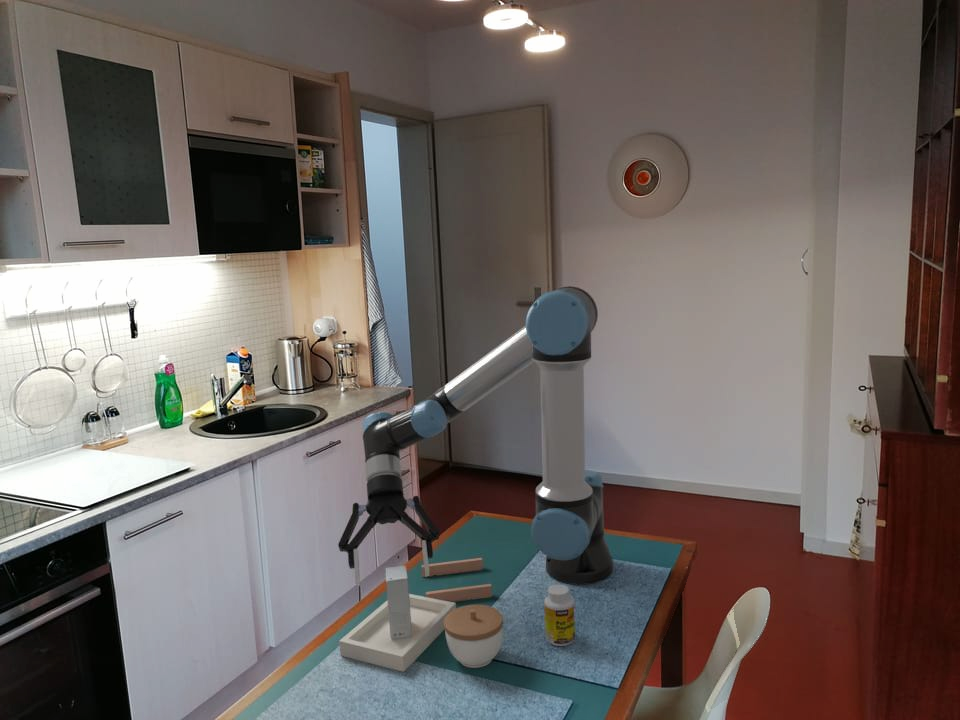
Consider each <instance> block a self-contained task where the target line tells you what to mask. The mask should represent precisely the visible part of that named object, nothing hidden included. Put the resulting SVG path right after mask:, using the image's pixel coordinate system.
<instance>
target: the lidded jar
mask: <svg viewBox="0 0 960 720" xmlns="http://www.w3.org/2000/svg"><path fill="white" fill-rule="evenodd" d="M444 628H445V629H444V634H445V640H446V644H447V646H448V650H449V651H450V653H451V655H452V656H453V657H454V658H455V659H456V660H457V662H459V663H460V664H461V665H462V666H463V667H466V668H469V669H479V668H483V667H486V666H488V665H489V664H490V663H491V662H492V661H493V659H495V657H496V656H497V655H498V653H499V652H500V649H501V647H502V643H503V637H504V617H503V615H502V613H501V612H500V611H499V610H498V609H497V608H495V607H492V606H490V605H486V604H468V605H463V606H460V607H456V609H454V610H453V611H451V612H450V613H449V614H448V615H447V616H446V617H445V620H444Z"/></svg>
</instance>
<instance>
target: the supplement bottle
mask: <svg viewBox="0 0 960 720" xmlns="http://www.w3.org/2000/svg"><path fill="white" fill-rule="evenodd" d="M543 601H544V603H543V605H544V607H543V608H544V624H545V625H544V627H545V639H546V641H547V642H548V643H549V644H550V645H553V646H556V647H565V646H569V645H571V644H572V643H573V642H574V641H575V639H576V625H575V624H576V623H575V622H576V621H575V600H574V598H573V597H572V596H571V593H570V588H569V586H567V585H564V584H553V585H550V586H549V587H548V588H547V596H546V597H545V598H544V600H543Z"/></svg>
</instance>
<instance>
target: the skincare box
mask: <svg viewBox="0 0 960 720" xmlns="http://www.w3.org/2000/svg"><path fill="white" fill-rule="evenodd" d="M385 583H386V595H387V597H386V598H387V600H388V612H389V625H390V637H391V639H396V638H403V637H411V636H412V627H411V612H410V599H409V594H410V588H409V577H408V570H407V565H400V566H392V567H391V566H390V567H385ZM387 600H386V601H387Z"/></svg>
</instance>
